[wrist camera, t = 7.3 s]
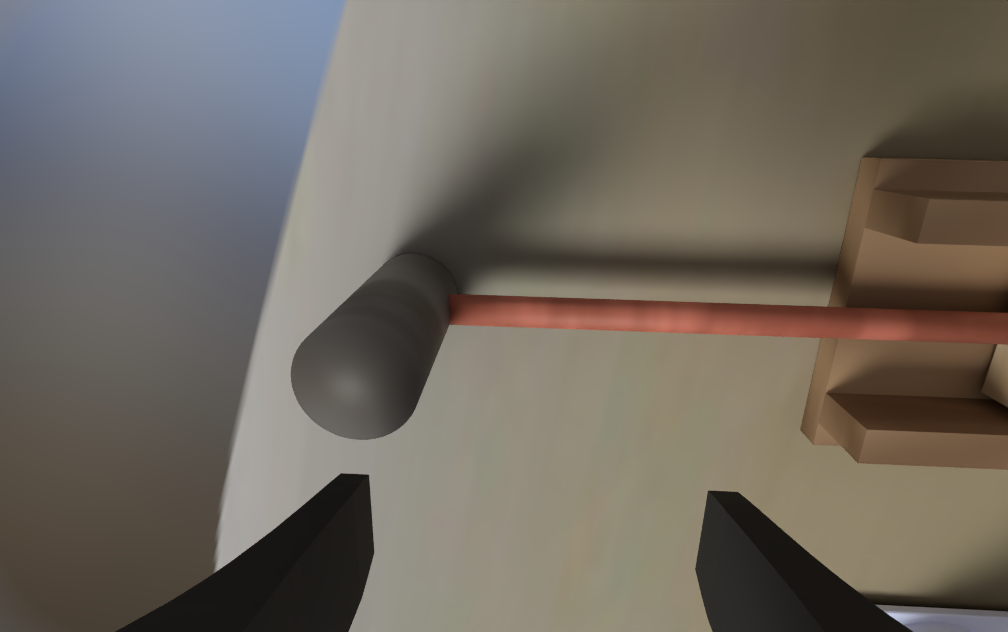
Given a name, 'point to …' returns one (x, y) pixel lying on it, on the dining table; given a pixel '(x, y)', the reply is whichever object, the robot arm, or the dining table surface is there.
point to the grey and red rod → (435, 305)
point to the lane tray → (917, 286)
